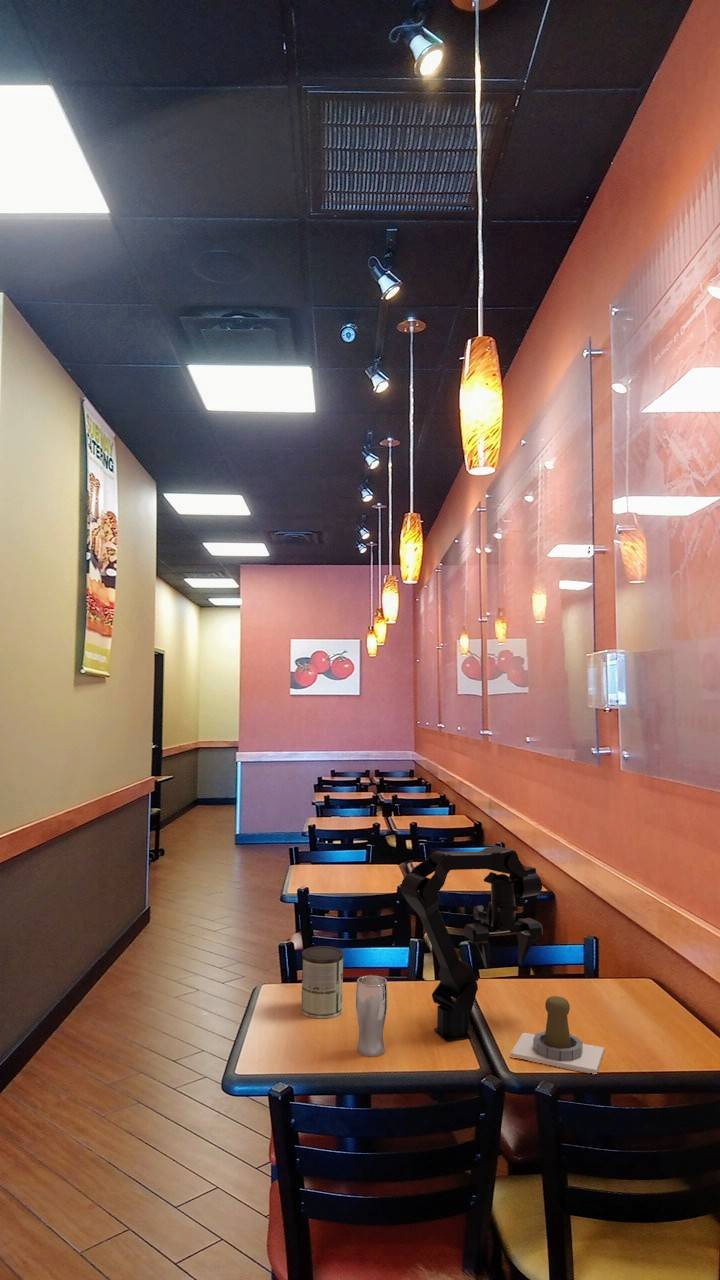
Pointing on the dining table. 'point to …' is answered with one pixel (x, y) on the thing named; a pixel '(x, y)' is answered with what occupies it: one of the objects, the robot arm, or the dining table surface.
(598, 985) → the dining table surface
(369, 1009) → the beer glass
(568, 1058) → the dock
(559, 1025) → the olive brown pawn
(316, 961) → the coffee can
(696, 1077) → the dining table surface
